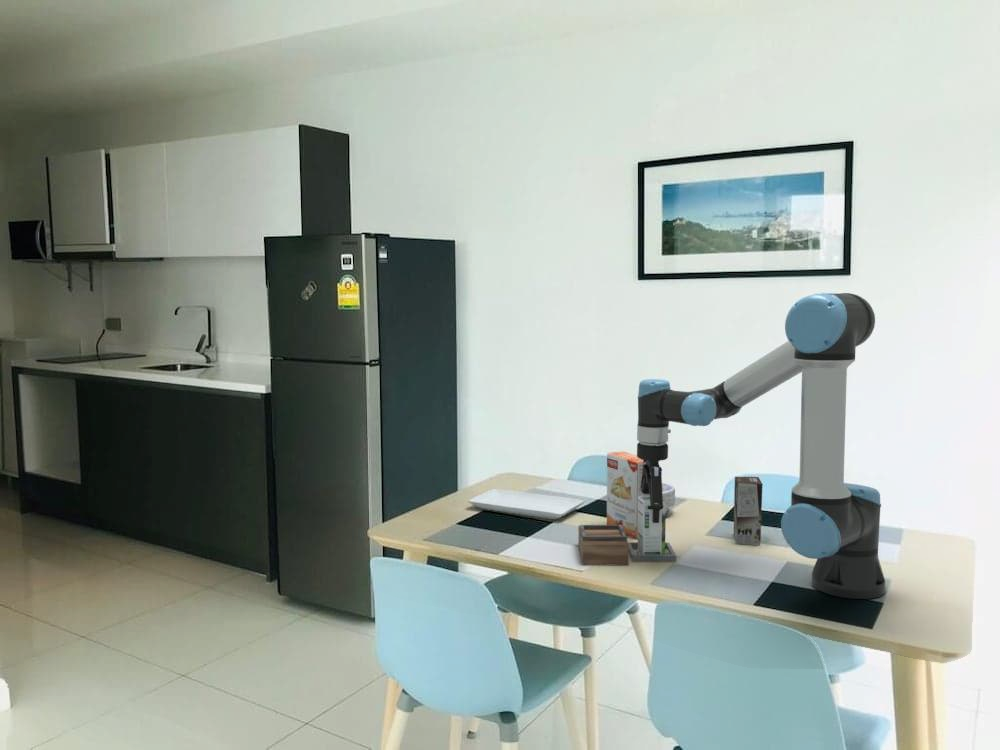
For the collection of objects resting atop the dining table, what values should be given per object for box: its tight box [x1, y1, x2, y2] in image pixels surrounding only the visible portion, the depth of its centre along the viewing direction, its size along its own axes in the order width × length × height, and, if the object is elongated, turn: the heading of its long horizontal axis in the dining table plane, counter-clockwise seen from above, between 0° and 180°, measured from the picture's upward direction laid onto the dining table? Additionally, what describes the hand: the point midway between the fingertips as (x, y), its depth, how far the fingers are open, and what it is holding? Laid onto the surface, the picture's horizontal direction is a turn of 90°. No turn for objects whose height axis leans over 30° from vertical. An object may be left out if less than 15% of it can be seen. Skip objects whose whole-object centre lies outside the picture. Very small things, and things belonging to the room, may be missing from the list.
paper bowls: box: [662, 482, 676, 513], centre depth 246 cm, size 15×15×8 cm
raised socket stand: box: [577, 524, 630, 566], centre depth 208 cm, size 16×11×6 cm
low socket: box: [628, 541, 677, 563], centre depth 208 cm, size 11×11×2 cm
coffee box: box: [733, 476, 763, 546], centre depth 219 cm, size 9×6×16 cm
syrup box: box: [637, 496, 667, 555], centre depth 207 cm, size 6×6×14 cm
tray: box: [467, 488, 585, 521], centre depth 251 cm, size 17×32×4 cm, turn 60°
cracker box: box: [606, 451, 644, 540], centre depth 227 cm, size 14×6×21 cm, turn 27°
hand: (650, 527), depth 208 cm, fingers open, 13 cm apart
